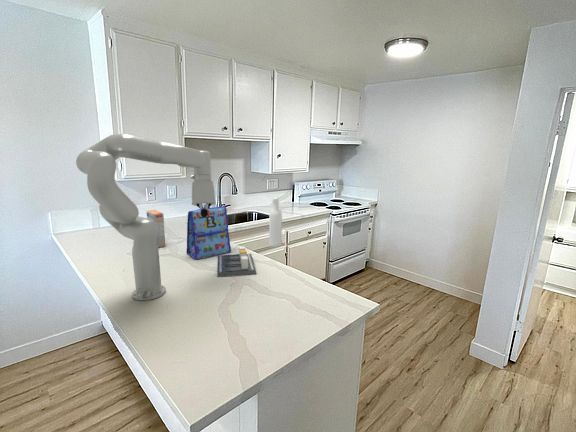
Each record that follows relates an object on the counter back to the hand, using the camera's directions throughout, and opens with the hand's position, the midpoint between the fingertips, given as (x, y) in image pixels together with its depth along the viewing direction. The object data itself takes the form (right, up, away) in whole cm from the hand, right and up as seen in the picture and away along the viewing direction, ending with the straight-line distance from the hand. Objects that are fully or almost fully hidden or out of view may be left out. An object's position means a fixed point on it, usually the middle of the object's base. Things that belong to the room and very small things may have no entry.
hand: (204, 217), depth 142 cm
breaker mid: (+17, -23, +13) cm, 31 cm away
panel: (+13, -25, +12) cm, 31 cm away
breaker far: (+15, -21, +20) cm, 33 cm away
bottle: (+31, -18, +48) cm, 60 cm away
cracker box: (-42, -17, +46) cm, 65 cm away
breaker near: (+18, -24, +5) cm, 31 cm away
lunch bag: (-6, -21, +32) cm, 38 cm away
